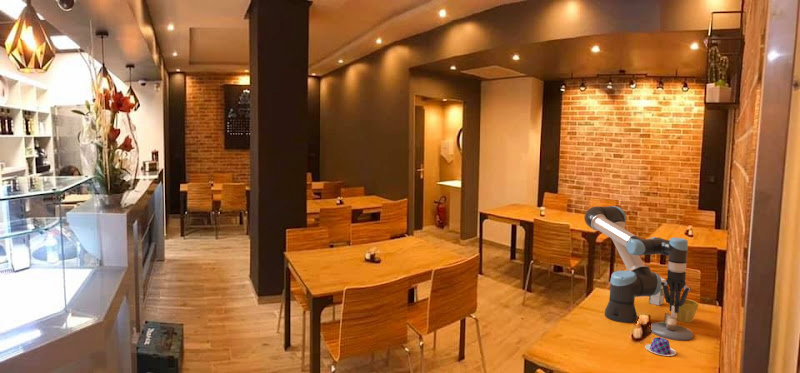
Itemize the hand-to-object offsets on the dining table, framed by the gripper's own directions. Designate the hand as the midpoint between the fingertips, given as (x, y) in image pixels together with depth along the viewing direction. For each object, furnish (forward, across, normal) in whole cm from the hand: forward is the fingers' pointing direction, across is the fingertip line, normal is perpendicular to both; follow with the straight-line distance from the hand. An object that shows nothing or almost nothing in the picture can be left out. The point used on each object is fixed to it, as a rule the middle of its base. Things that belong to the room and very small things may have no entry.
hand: (673, 318), depth 234 cm
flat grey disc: (+5, -2, +5) cm, 8 cm away
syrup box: (+6, +24, -32) cm, 40 cm away
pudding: (+6, -9, +30) cm, 32 cm away
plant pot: (+6, +3, -18) cm, 19 cm away
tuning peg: (+3, 0, +3) cm, 5 cm away
